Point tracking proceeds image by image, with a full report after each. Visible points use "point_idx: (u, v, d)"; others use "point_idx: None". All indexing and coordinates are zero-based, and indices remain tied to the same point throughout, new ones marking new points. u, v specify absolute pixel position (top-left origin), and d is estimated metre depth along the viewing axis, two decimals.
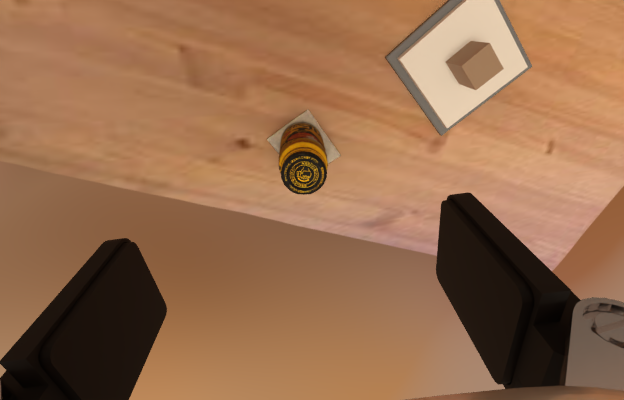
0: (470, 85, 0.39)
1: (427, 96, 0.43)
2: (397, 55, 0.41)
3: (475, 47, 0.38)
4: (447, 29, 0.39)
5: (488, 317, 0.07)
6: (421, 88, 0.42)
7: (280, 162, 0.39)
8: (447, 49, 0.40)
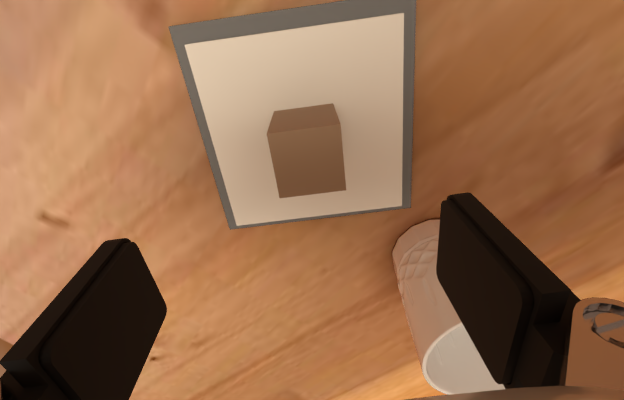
0: (279, 127, 0.16)
1: (287, 34, 0.18)
2: None
3: None
4: (384, 130, 0.20)
5: (489, 318, 0.07)
6: (313, 29, 0.17)
7: None
8: (352, 116, 0.20)
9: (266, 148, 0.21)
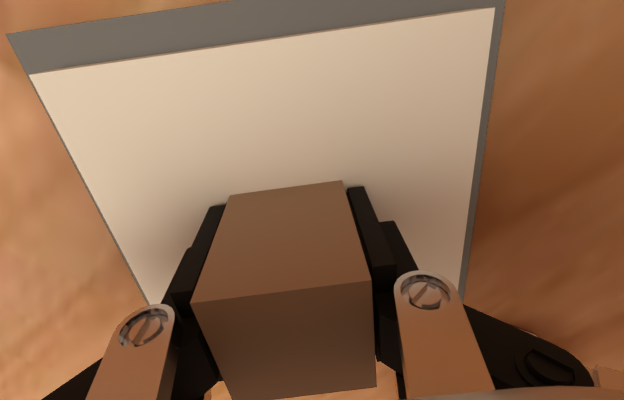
0: (225, 271, 0.07)
1: (247, 53, 0.08)
2: None
3: None
4: (433, 221, 0.11)
5: None
6: (301, 42, 0.08)
7: None
8: (377, 201, 0.11)
9: None
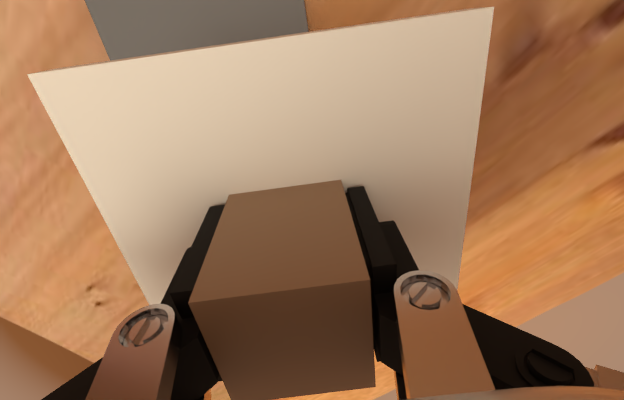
0: (224, 270, 0.07)
1: (246, 52, 0.08)
2: None
3: None
4: (433, 221, 0.11)
5: None
6: (300, 42, 0.08)
7: None
8: (376, 200, 0.11)
9: None
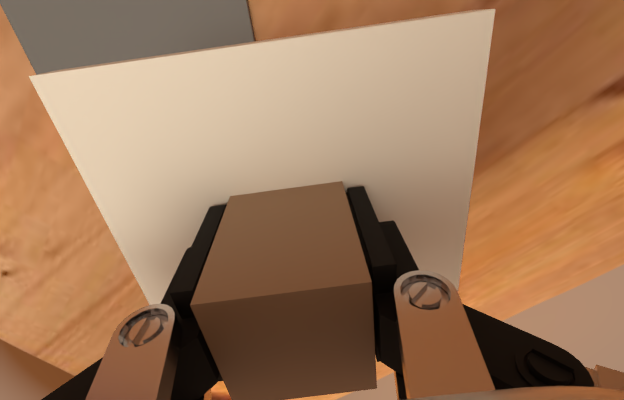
0: (226, 272, 0.07)
1: (247, 54, 0.08)
2: None
3: None
4: (434, 222, 0.11)
5: None
6: (302, 44, 0.08)
7: None
8: (377, 202, 0.11)
9: None
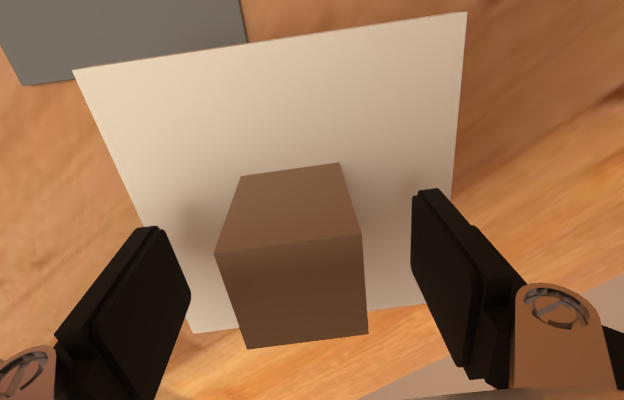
0: (241, 231, 0.08)
1: (257, 51, 0.10)
2: None
3: None
4: None
5: (449, 304, 0.08)
6: (304, 42, 0.10)
7: None
8: (370, 181, 0.12)
9: None
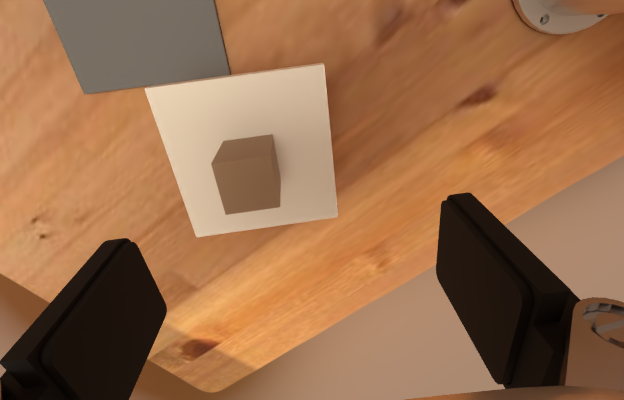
0: (222, 157, 0.20)
1: (230, 80, 0.21)
2: None
3: (278, 184, 0.22)
4: (317, 155, 0.24)
5: (488, 318, 0.07)
6: (251, 76, 0.21)
7: None
8: (289, 144, 0.24)
9: None
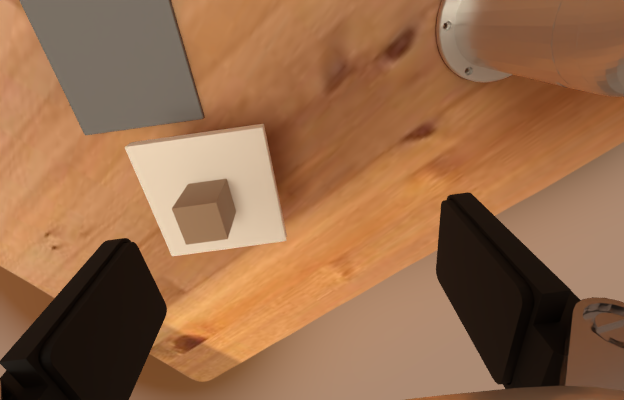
0: (181, 202, 0.26)
1: (190, 140, 0.28)
2: None
3: (228, 219, 0.28)
4: (263, 193, 0.30)
5: (488, 317, 0.07)
6: (206, 137, 0.28)
7: None
8: (240, 186, 0.30)
9: None
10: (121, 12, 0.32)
